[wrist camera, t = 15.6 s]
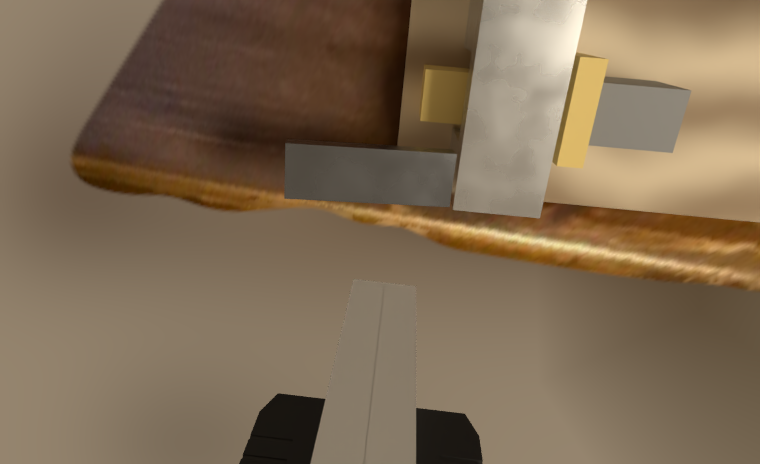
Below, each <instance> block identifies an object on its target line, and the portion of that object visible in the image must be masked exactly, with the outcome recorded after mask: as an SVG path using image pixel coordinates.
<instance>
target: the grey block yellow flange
mask: <svg viewBox="0 0 760 464" xmlns="http://www.w3.org/2000/svg"><path fill="white" fill-rule="evenodd" d="M608 61H609V59H606V58H601V57H597V56H592V55H588V54H583V53H576V55H575V59H574V64H573V68H572V73H571V78H570V82H569V87H568V91H567V96H566V100H565V105H564V110H563V114H562V119H561V123H560V128H559V132H558V137H557V142H556V146H555V151H554V155H553V160H552V162H553V163H554V164H555V165H556V166H561V167H571V168H582V169H583V165H584V161H585V157H586V153H587V149H588V145H589V146H600V147H611V148H622V149H633V150H644V151H655V152H666V153H673V150H674V147H675V143H676V140H677V137H678V134H679V130H680V127H681V124H682V120H683V117H684V114H685V111H686V107H687V104H688V101H689V97H690V94H691V90H688V89H684V88H680V87H677V86H673V85H669V84H665V83H662V82H658V81H651V80H640V79H629V78H617V77H606V76H605V73H606V69H607V65H608ZM468 72H469V68H458V67H447V66H435V65H424V72H423V82H422V91H421V100H420V109H419V115H420V121H426V122H438V123H449V124H460V125H461V120H462V113H463V106H464V99H465V92H466V85H467V79H468Z"/></svg>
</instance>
